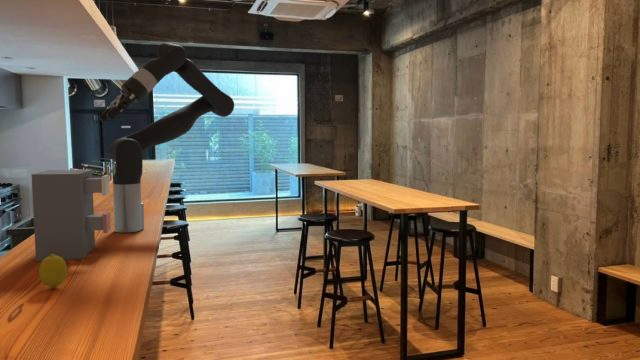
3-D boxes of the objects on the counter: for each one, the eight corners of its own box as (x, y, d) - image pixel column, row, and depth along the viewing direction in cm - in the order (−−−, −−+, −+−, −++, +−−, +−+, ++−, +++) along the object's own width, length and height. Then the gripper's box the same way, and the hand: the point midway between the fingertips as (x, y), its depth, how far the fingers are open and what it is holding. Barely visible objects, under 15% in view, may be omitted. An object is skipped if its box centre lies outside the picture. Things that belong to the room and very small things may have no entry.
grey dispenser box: (95, 246, 143) (92, 169, 141) (83, 258, 130) (80, 173, 127) (52, 248, 141) (48, 170, 138) (36, 261, 127) (31, 174, 125)
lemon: (55, 293, 102) (53, 258, 101) (34, 291, 103) (32, 256, 103) (73, 285, 108) (71, 251, 107) (52, 283, 109) (51, 250, 108)
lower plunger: (110, 229, 140) (110, 211, 139) (107, 232, 135) (106, 214, 134) (78, 230, 138) (77, 212, 137) (73, 234, 133) (72, 215, 132)
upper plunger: (109, 193, 139) (108, 175, 138) (105, 195, 134) (105, 176, 133) (76, 193, 137) (75, 175, 136) (71, 196, 131) (70, 177, 131)
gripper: (155, 91, 150) (120, 125, 144) (140, 96, 161) (107, 128, 155) (138, 73, 147) (101, 107, 140) (124, 79, 158) (89, 112, 151)
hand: (104, 118), depth 147 cm, fingers open, 8 cm apart
